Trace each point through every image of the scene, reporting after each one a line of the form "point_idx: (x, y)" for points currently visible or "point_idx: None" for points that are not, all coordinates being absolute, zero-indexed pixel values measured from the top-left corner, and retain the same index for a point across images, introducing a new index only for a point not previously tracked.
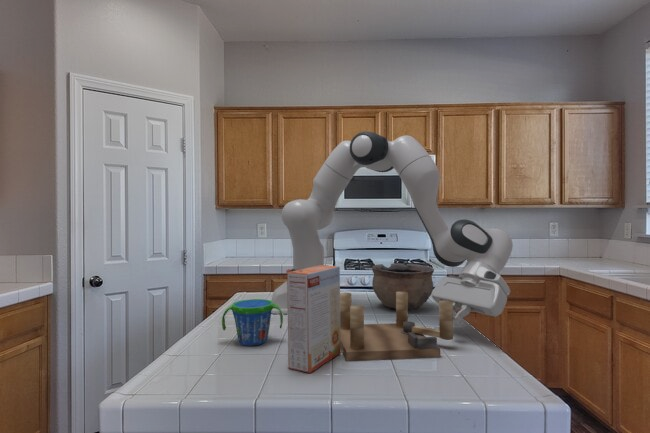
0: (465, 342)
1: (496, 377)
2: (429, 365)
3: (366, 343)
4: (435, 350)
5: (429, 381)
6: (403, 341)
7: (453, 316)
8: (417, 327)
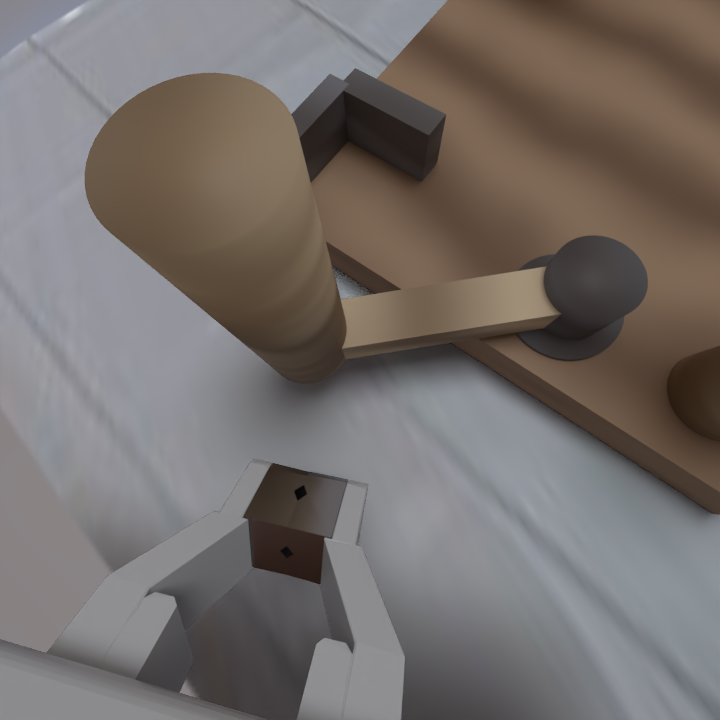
0: None
1: (30, 208)
2: None
3: (556, 25)
4: None
5: (203, 40)
6: (461, 157)
7: (288, 477)
8: (507, 282)
